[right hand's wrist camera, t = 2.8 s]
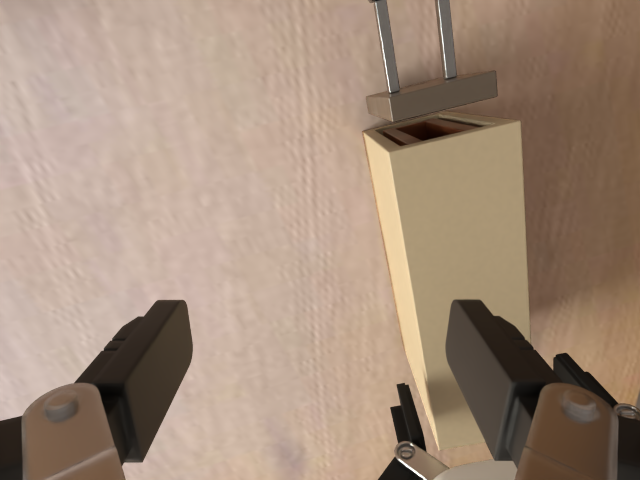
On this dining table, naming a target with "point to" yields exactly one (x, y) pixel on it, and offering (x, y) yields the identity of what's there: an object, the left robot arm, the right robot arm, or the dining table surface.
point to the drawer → (425, 86)
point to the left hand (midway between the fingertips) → (480, 385)
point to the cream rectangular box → (451, 246)
